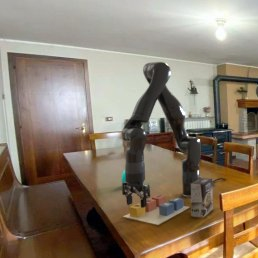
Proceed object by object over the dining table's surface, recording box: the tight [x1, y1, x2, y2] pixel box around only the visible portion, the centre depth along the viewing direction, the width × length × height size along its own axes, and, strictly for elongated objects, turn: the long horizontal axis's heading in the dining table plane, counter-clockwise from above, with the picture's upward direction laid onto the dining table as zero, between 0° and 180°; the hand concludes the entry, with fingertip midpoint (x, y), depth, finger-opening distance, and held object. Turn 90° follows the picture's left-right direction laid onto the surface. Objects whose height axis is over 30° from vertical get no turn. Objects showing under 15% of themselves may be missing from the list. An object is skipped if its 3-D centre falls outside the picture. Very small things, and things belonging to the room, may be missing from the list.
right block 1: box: [159, 201, 174, 216], centre depth 114 cm, size 4×4×4 cm
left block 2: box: [151, 194, 167, 207], centre depth 123 cm, size 4×4×4 cm
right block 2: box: [168, 197, 184, 211], centre depth 120 cm, size 4×4×4 cm
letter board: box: [122, 205, 190, 226], centre depth 116 cm, size 19×21×1 cm
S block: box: [129, 202, 145, 218], centre depth 112 cm, size 4×4×4 cm
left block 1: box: [145, 198, 156, 212], centre depth 118 cm, size 4×4×4 cm
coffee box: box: [190, 177, 214, 218], centre depth 115 cm, size 9×6×16 cm
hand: (136, 205), depth 111 cm, fingers open, 8 cm apart
